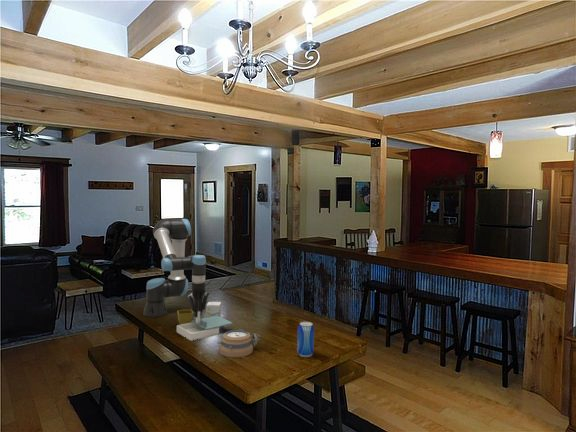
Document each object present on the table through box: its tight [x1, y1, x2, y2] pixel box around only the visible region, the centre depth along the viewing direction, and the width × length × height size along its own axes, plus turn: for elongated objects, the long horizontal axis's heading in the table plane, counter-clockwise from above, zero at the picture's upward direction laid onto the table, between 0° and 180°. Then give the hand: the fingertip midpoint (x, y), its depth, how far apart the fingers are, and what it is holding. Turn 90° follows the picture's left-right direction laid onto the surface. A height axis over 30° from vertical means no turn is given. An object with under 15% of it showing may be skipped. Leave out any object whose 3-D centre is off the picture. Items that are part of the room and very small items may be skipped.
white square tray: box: [176, 322, 220, 342], centre depth 224 cm, size 18×18×4 cm
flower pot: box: [176, 308, 194, 325], centre depth 236 cm, size 9×9×9 cm
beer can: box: [296, 321, 315, 358], centre depth 196 cm, size 8×8×16 cm
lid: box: [192, 315, 233, 330], centre depth 230 cm, size 18×17×4 cm
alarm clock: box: [217, 329, 261, 358], centre depth 201 cm, size 17×9×23 cm
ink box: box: [205, 301, 222, 318], centre depth 246 cm, size 9×8×12 cm
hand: (197, 322), depth 224 cm, fingers closed
